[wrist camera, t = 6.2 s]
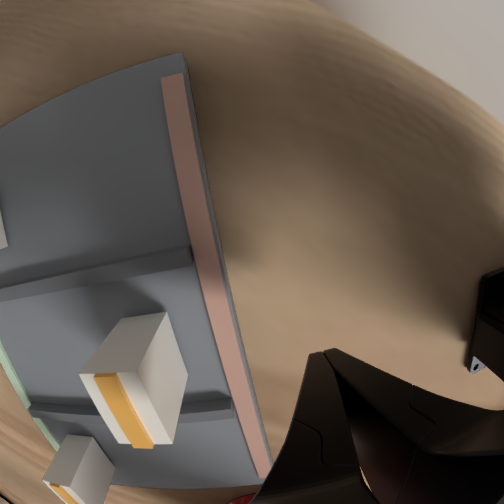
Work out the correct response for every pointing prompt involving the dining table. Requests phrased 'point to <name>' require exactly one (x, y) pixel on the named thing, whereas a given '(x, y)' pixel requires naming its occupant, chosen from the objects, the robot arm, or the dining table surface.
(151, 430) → the block
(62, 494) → the block
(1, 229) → the block
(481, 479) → the robot arm
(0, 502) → the bowl
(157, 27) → the dining table surface
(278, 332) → the dining table surface
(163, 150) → the panel
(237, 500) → the mug
